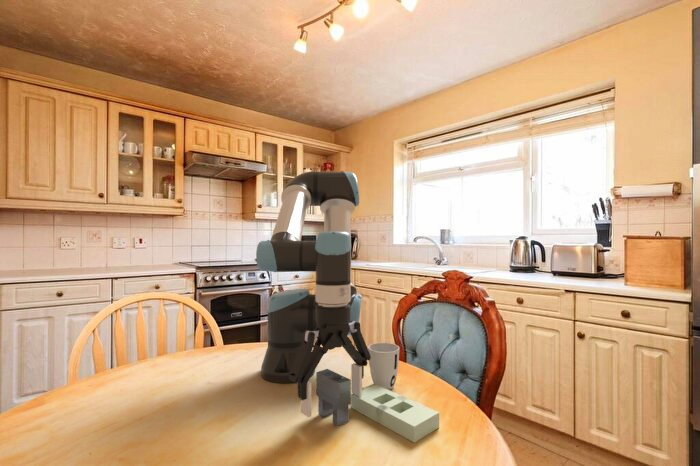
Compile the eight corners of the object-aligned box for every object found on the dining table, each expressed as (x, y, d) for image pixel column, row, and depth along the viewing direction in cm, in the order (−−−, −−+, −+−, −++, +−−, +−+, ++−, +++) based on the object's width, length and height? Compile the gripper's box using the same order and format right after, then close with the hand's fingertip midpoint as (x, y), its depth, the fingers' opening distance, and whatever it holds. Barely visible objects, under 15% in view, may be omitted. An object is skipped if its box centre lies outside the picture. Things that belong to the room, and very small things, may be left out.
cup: (398, 394, 85) (398, 353, 85) (365, 391, 87) (365, 351, 87) (400, 380, 93) (400, 343, 93) (370, 378, 95) (370, 341, 95)
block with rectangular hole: (351, 407, 79) (351, 394, 79) (375, 396, 84) (375, 384, 84) (414, 442, 65) (414, 426, 65) (439, 427, 70) (439, 412, 70)
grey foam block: (316, 413, 76) (316, 372, 76) (327, 409, 78) (327, 368, 78) (339, 428, 70) (339, 383, 70) (350, 423, 72) (350, 379, 72)
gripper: (292, 314, 63) (291, 432, 63) (386, 299, 80) (386, 392, 79) (271, 308, 69) (271, 416, 68) (363, 295, 85) (363, 382, 85)
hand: (332, 403), depth 74 cm, fingers open, 13 cm apart
